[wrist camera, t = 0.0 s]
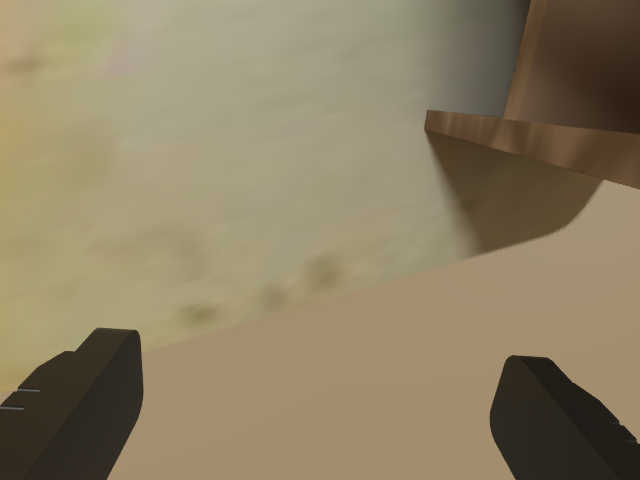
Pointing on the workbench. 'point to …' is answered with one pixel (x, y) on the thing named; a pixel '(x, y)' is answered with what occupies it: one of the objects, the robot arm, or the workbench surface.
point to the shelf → (569, 92)
